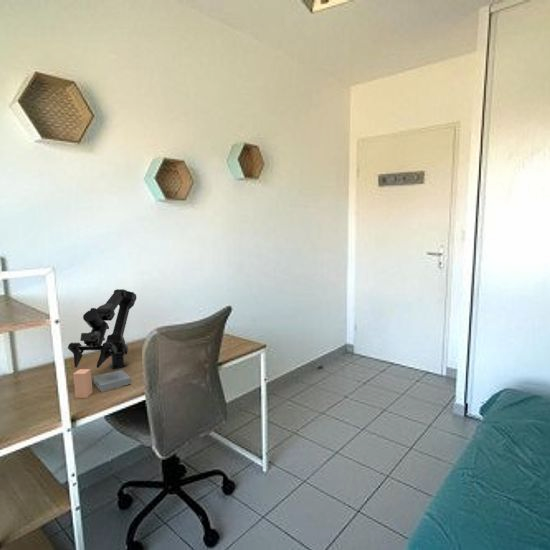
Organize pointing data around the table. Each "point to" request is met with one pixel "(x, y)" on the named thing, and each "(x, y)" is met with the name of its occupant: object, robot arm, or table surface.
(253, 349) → the table surface
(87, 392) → the brick
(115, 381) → the base block
